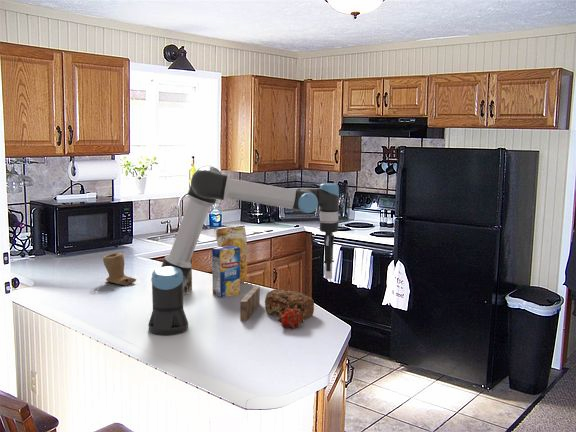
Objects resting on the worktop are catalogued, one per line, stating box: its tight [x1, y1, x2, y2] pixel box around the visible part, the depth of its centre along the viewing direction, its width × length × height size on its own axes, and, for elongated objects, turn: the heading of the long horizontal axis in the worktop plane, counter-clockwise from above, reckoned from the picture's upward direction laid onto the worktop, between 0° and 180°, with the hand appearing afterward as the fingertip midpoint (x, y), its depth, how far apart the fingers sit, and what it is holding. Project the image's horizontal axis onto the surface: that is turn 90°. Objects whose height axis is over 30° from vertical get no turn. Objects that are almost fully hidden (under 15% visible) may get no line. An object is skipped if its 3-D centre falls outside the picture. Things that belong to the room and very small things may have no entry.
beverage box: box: [211, 245, 241, 298], centre depth 288 cm, size 7×11×22 cm, turn 129°
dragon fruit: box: [277, 307, 306, 330], centre depth 243 cm, size 8×8×12 cm
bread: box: [264, 288, 315, 320], centre depth 258 cm, size 19×11×10 cm, turn 56°
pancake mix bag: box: [215, 225, 248, 283], centre depth 310 cm, size 7×19×28 cm, turn 129°
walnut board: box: [239, 286, 261, 322], centre depth 262 cm, size 24×2×8 cm, turn 170°
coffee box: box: [183, 256, 193, 296], centre depth 291 cm, size 9×6×16 cm
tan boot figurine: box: [102, 252, 137, 286], centre depth 307 cm, size 15×12×15 cm
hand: (328, 278), depth 254 cm, fingers closed
